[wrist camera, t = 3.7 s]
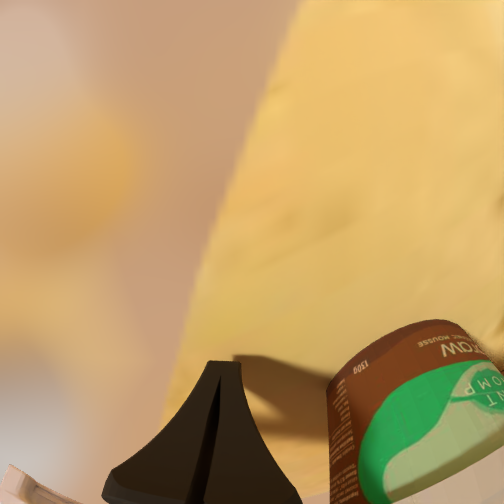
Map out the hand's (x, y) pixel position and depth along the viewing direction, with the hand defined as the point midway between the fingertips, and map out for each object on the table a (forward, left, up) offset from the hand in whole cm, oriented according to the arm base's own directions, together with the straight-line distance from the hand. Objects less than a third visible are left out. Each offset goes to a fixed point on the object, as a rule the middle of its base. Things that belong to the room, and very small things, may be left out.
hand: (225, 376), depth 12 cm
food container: (0, -10, -1) cm, 10 cm away
